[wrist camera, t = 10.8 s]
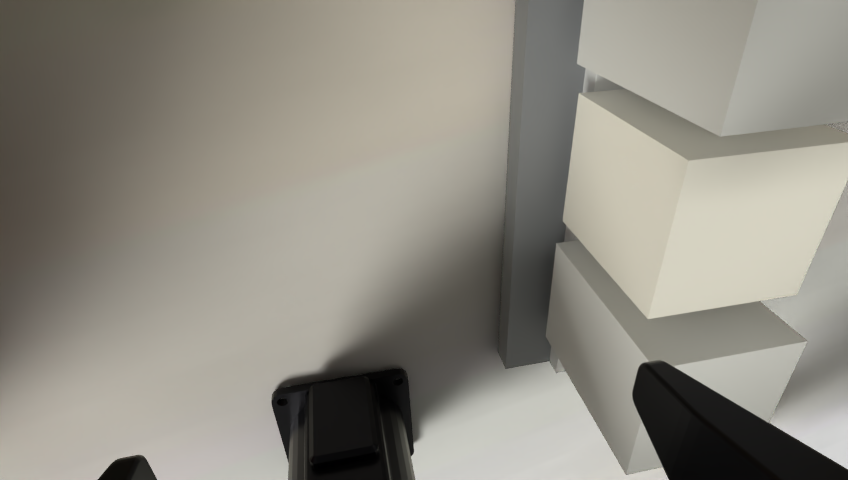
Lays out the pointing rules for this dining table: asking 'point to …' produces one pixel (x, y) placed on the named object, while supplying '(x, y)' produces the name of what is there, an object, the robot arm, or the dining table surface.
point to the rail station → (692, 100)
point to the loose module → (698, 203)
